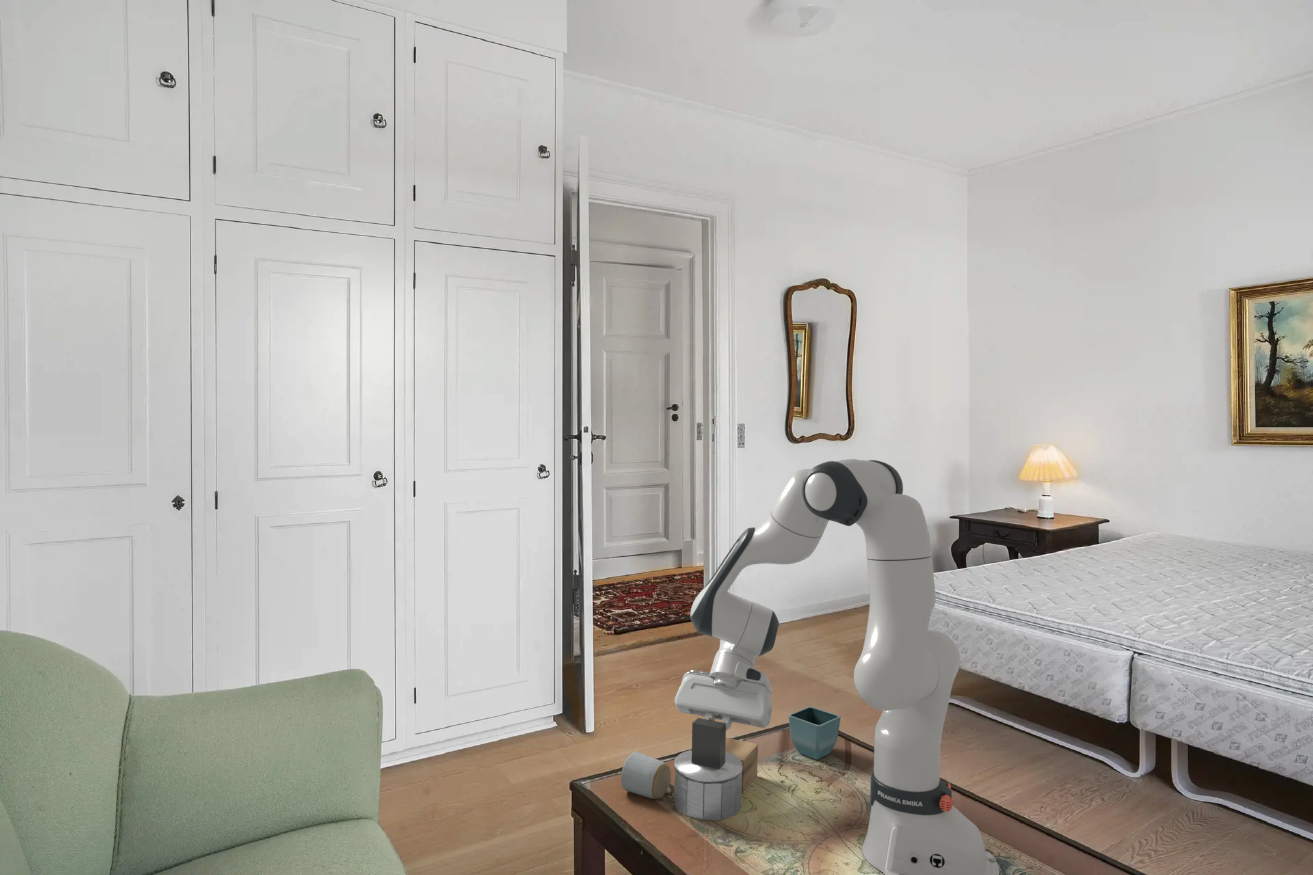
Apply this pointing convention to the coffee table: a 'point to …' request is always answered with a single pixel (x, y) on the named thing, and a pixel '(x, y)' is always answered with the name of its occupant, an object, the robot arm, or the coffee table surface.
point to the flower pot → (814, 731)
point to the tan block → (745, 759)
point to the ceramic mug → (645, 776)
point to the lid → (708, 755)
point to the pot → (707, 798)
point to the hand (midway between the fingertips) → (713, 738)
